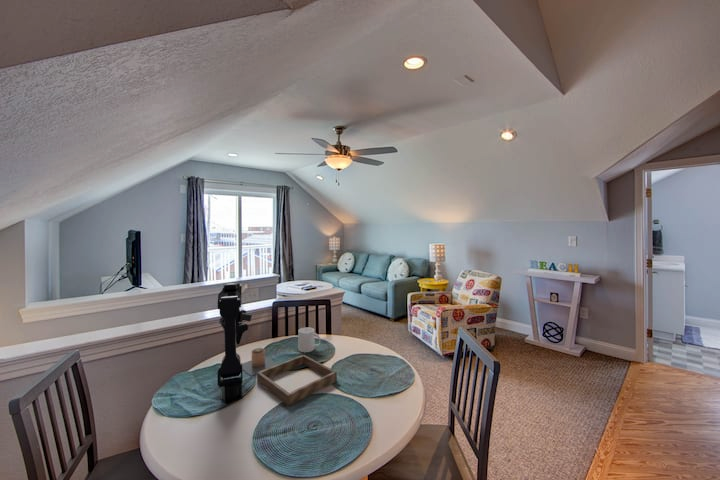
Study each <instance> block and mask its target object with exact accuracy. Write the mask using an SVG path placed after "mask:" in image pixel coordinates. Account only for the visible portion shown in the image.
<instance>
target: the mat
mask: <svg viewBox="0 0 720 480" xmlns="http://www.w3.org/2000/svg"><path fill="white" fill-rule="evenodd" d="M241 363H242V362H241ZM278 364H279V363H277V362H275V361H273V360H272V359H271V358H268V357H267V356H266V355H265V365H264V366H263V367H261V368H253V367H252V359H251V360H249V361H248V360H247V361H246V362H243V363H242V369H243V370H242V371H243V372H245V374H247V375H249V376H250V377H253V376H257V372H259V371H262V370H265V369H267V368H270V367H272V366H275V365H278Z"/></svg>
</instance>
